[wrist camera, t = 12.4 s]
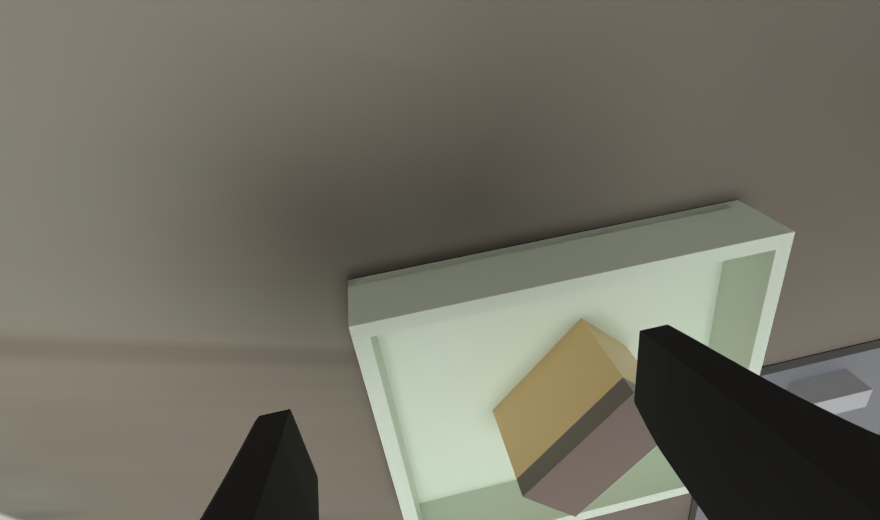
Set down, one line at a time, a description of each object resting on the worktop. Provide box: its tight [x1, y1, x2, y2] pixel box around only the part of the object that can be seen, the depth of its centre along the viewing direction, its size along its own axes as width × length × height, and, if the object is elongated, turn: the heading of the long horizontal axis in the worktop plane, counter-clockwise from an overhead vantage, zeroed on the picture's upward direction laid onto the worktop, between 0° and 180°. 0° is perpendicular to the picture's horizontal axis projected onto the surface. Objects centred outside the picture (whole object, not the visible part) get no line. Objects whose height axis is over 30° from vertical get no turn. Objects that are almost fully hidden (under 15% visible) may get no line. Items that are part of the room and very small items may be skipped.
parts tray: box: [348, 200, 795, 520], centre depth 22 cm, size 16×14×3 cm
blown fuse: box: [493, 318, 657, 517], centre depth 21 cm, size 3×6×4 cm, turn 143°
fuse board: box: [689, 340, 880, 520], centre depth 31 cm, size 11×22×2 cm, turn 8°
